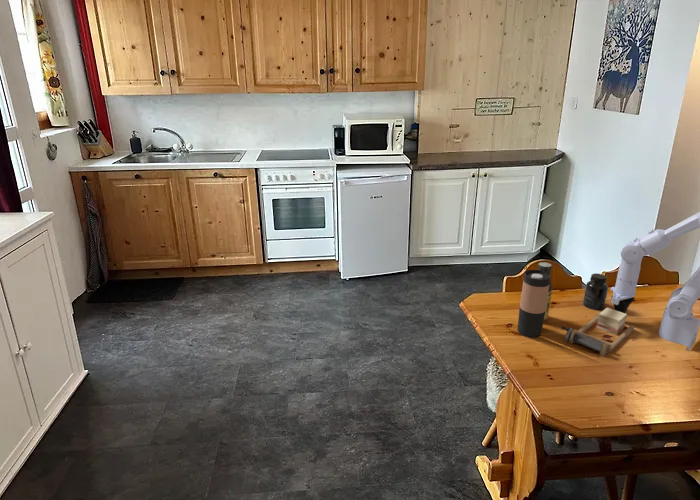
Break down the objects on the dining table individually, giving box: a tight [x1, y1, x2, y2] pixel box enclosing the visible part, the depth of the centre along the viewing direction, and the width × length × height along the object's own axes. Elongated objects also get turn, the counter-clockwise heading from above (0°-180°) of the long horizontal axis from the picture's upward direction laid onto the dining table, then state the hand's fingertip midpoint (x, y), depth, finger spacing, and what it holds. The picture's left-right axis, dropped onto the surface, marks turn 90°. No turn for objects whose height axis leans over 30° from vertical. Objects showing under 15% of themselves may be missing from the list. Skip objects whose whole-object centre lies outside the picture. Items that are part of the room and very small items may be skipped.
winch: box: [561, 325, 608, 357], centre depth 145 cm, size 13×4×5 cm, turn 43°
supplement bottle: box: [582, 272, 609, 311], centre depth 167 cm, size 7×7×12 cm
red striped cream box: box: [596, 307, 628, 336], centre depth 154 cm, size 6×6×5 cm
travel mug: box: [517, 269, 552, 339], centre depth 151 cm, size 8×8×20 cm
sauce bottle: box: [537, 261, 553, 323], centre depth 158 cm, size 6×6×20 cm
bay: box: [573, 313, 635, 354], centre depth 151 cm, size 11×19×4 cm, turn 133°
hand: (618, 316), depth 158 cm, fingers closed
